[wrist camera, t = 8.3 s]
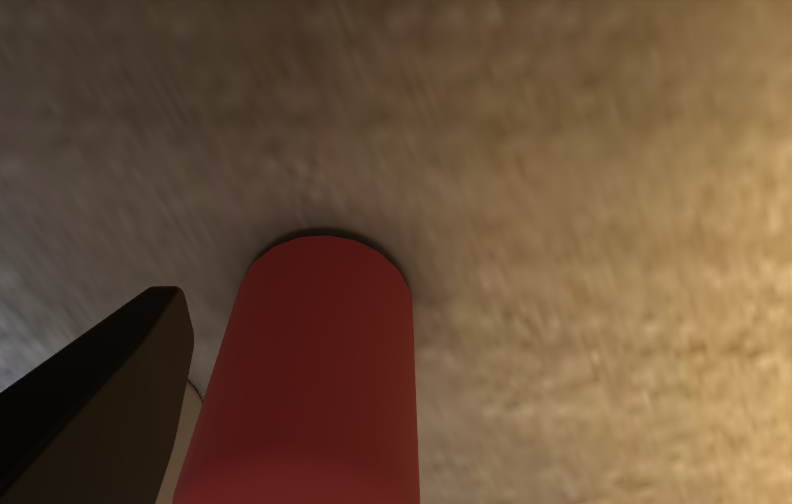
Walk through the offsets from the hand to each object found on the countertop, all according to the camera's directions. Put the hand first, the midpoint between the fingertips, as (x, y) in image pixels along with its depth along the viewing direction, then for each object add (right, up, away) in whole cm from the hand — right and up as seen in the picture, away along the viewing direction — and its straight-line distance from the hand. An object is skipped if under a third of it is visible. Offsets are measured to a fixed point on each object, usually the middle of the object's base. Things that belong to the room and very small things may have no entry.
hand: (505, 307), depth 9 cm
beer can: (-4, -1, +17) cm, 17 cm away
